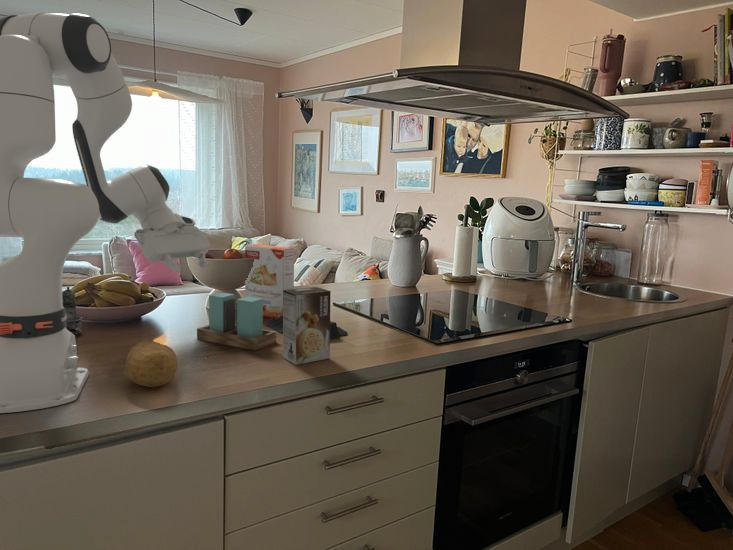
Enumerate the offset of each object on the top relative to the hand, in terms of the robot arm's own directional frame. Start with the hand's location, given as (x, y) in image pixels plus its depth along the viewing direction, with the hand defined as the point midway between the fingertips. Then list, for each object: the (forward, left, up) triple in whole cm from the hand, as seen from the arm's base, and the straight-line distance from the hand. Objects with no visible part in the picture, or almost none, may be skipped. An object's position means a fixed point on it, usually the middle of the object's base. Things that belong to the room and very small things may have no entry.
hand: (192, 268), depth 142 cm
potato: (-34, +15, -17) cm, 41 cm away
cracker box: (+11, -25, -17) cm, 32 cm away
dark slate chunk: (-9, -28, -18) cm, 34 cm away
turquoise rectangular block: (-15, -10, -16) cm, 24 cm away
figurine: (+11, +28, -17) cm, 35 cm away
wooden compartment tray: (-12, -8, -17) cm, 22 cm away
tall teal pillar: (-8, -5, -16) cm, 18 cm away
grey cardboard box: (-31, -19, -17) cm, 40 cm away
